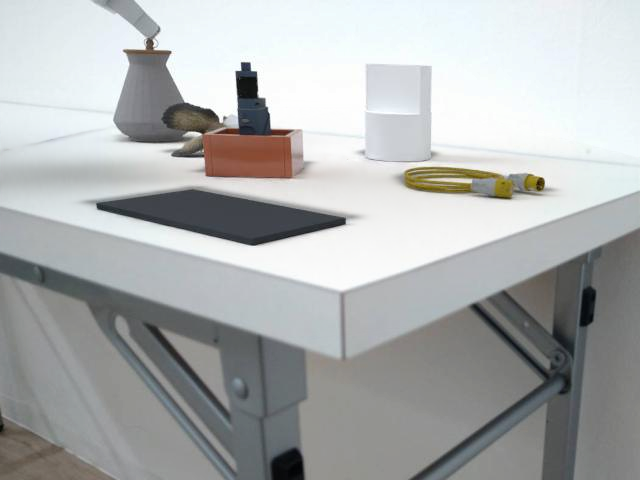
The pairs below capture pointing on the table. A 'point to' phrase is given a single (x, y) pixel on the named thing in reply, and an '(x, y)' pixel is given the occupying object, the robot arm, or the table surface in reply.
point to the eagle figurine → (194, 124)
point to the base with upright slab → (398, 112)
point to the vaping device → (251, 104)
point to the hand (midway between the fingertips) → (155, 34)
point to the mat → (223, 215)
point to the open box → (253, 153)
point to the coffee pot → (147, 96)
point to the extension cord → (474, 181)
